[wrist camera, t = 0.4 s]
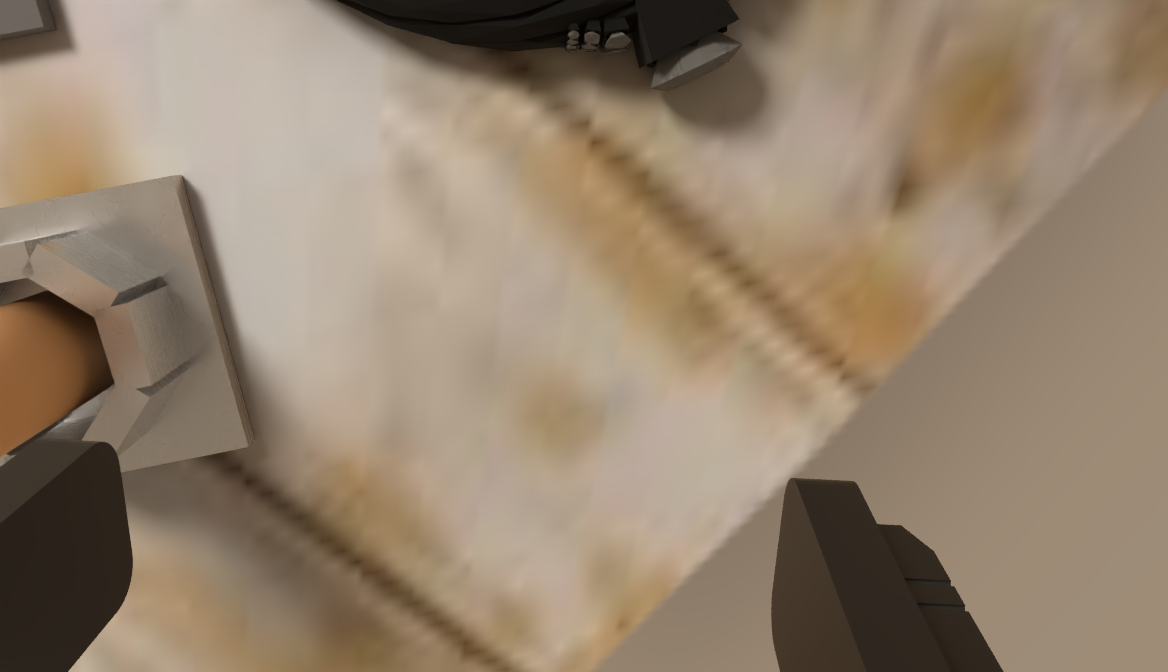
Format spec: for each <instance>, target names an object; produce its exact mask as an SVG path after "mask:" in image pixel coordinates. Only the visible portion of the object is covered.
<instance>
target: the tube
mask: <svg viewBox="0 0 1168 672" xmlns="http://www.w3.org/2000/svg"><path fill="white" fill-rule="evenodd" d="M113 384H114V379H113V376H112V373H111V370H110V366H109V363H108V360H107V357H106V353H105V350H104V347H103V344H102V341H101V337H100V334H99V331H98V328H97V324H96V321H95V318H94V317H93V316H91V315H90V314H88V313H86V312H85V311H83V310H81V309H79V308H78V307H76V306H74V305H73V304H71V303H69V302H68V301H66V300H64V299H63V298H61V297H59V296H57V295H56V294H54V293H52V292H51V291H49V290H46V291H43V292H40V293H37V294H34V295H32V296H29V297H26V298H23V299H20V300H17V301H14V302H11V303H8V304H5V305H2V306H0V457H2V456H3V455H5V454H6V453H8V452H9V451H11V450H13V449H14V448H16V447H17V446H19V445H20V444H22V443H23V442H25V441H27V440H28V439H30V438H31V437H33V436H34V435H36V434H38V433H39V432H41V431H42V430H44V429H45V428H47V427H49V426H50V425H52V424H53V423H55V422H56V421H58V420H60V419H61V418H63V417H64V416H66V415H67V414H69V413H70V412H72V411H74V410H75V409H77V408H78V407H80V406H81V405H83V404H85V403H86V402H88V401H89V400H91V399H92V398H94V397H96V396H97V395H99V394H100V393H102V392H103V391H105V390H107V389H108V388H109V387H111V386H112V385H113Z"/></svg>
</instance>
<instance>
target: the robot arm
mask: <svg viewBox="0 0 1168 672" xmlns="http://www.w3.org/2000/svg"><path fill="white" fill-rule="evenodd" d="M132 568H133V557H132V548H131V541H130V534H129V527H128V520H127V512H126V505H125V498H124V491H123V484H122V477H121V470H120V463H119V459H118V456H117V453H116V451H115V449H114V448H113V447H112V445H110V444H109V443H107V442H100V441H80V440H60V439H39V440H36V441H35V442H33V443H31V444H30V445H29V446H27V447H26V448H25V449H23V450H22V451H21V452H19V453H18V454H17V455H15V456H14V457H13V458H11V459H10V460H9V461H7V462H6V463H5V464H3V465H2V466H1V467H0V672H68V671H69V670H70V669H71V667H72V666H73V665H74V664H75V662H76V661H77V660H78V659H79V658H80V656H81V655H82V654H83V653H84V651H85V650H86V649H87V648H88V647H89V645H90V644H91V643H92V642H93V641H94V639H95V638H96V637H97V636H98V634H99V633H100V632H101V631H102V630H103V628H104V627H105V626H106V625H107V624H108V622H109V621H110V620H111V619H112V617H113V616H114V615H115V614H116V613H117V611H118V610H119V608H120V607H121V605H122V603H123V602H124V600H125V597H126V595H127V592H128V589H129V586H130V582H131V576H132ZM771 610H772V611H771V612H772V613H771V618H772V635H773V642H774V648H775V651H776V656H777V660H778V664H779V668H780V672H1003V670H1002V669H1001V667H1000V665H999V663H998V662H997V660H996V658H995V656H994V655H993V653H992V651H991V650H990V648H989V646H988V644H987V643H986V641H985V639H984V637H983V636H982V634H981V632H980V630H979V629H978V627H977V625H976V624H975V622H974V620H973V618H972V617H971V615H970V613H969V612H966V611H965V604H964V603H963V601H962V599H961V598H960V596H959V594H958V593H957V591H956V589H955V587H953V586H951V580H950V579H949V577H948V575H947V574H946V572H945V570H944V568H943V566H942V565H941V563H940V561H939V560H938V558H937V556H936V554H935V553H934V551H933V550H931V549H930V548H929V547H928V546H926V545H925V544H924V543H923V542H921V541H920V540H919V539H917V538H916V537H915V536H914V535H913V534H911V533H910V532H909V531H907V530H906V529H905V528H904V527H902V526H901V525H880V524H877V523H876V521H875V519H874V517H873V516H872V513H871V511H870V509H869V507H868V505H867V503H866V501H865V499H864V497H863V495H862V493H861V491H860V489H859V487H858V485H857V484H856V483H855V482H854V481H840V480H821V479H799V478H791V479H790V480H789V481H788V484H787V486H786V490H785V495H784V503H783V511H782V518H781V526H780V535H779V542H778V550H777V558H776V566H775V574H774V582H773V591H772V608H771Z"/></svg>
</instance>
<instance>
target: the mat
mask: <svg viewBox="0 0 1168 672" xmlns="http://www.w3.org/2000/svg"><path fill="white" fill-rule="evenodd" d="M52 30H56V26H55V23H54V20H53V16H52V13H51V10H50V6H49V3H48V0H0V40H3V39H8V38H14V37H19V36H25V35H30V34H36V33H41V32H47V31H52Z"/></svg>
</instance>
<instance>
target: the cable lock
mask: <svg viewBox="0 0 1168 672" xmlns="http://www.w3.org/2000/svg"><path fill="white" fill-rule="evenodd" d="M337 1H339V2H342V3H344V4H346V5H348V6H350V7H352V8H354V9H356V10H358V11H360V12H362V13H364V14H366V15H368V16H370V17H373V18H375V19H377V20H379V21H381V22H383V23H385V24H387V25H389V26H393V27H397V28H400V29H404V30H408V31H411V32H415V33H418V34H422V35H426V36H429V37H433V38H437V39H440V40H444V41H447V42H450V43H453V44H461V45H469V46H477V47H485V48H493V49H501V50H510V51H521V50H533V49H544V48H556V47H564V48H565V49H564V50H566V52H569V53H573V52H576V50H575V49H576V48H577V45H579V46H580V47H579V48H578V49H579V50H582V51H588V52H593V51H596V50H595V49H597V44H598V43H599V44H600V47H599V51H600V52H602V53H603V54H612V53H620V52H625V51H626V50H628V48H627V47H626V46H627V45H628V44H629V43H630V42H631V41H632V40H633V44H634V48H635V52H636V56H637V60H638V64H639V68H641V67H643V66H645V65H647V66H648V67H650V68H652V67H654V66H655V65H656V68H655V72H654V76H653V80H652V84H651V88H653V89H660V90H667V91H668V90H670V89H673V88H675V87H677V86H680V85H682V84H684V83H687V82H689V81H691V80H693V79H695V78H697V77H699V76H701V75H703V74H705V73H707V72H710V71H712V70H714V69H716V68H718V67H720V66H722V65H724V64H725V63H726V62H728V61H729V60H730V59H731V57H732V56H733V55H734V54H735V53H736V51H737V50H738V49H739V48H740V47H741V45H742V44H741V43H739V42H737V41H735V40H733V39H731V38H729V37H727V36H725V35H723V34H721V33H724V32H726V31H727V25H729V24H731V23H733V22H735V21H737V20H738V19H739V18H738V16H737V15H736V13H735V12H734V11H733V9H732V8H731V6H730V5H729V3H728V2H727V0H337ZM728 1H729V0H728ZM717 30H718V32H717ZM629 32H631V36H632V40H631V39H630V38H629ZM719 32H721V33H719ZM656 60H657V62H656ZM656 63H657V64H656Z"/></svg>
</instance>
